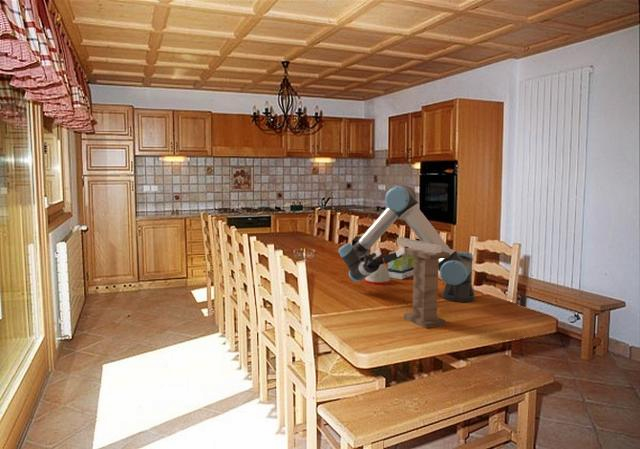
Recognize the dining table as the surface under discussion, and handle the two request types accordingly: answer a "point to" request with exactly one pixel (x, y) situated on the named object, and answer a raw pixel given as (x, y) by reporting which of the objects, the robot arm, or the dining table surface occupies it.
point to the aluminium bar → (419, 245)
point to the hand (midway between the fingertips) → (392, 250)
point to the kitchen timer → (379, 276)
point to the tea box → (401, 266)
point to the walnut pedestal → (425, 288)
